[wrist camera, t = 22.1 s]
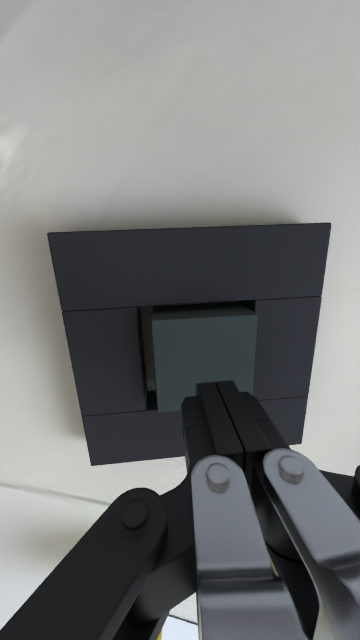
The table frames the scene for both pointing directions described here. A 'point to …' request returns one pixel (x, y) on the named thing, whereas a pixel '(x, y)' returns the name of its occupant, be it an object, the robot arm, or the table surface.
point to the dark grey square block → (201, 349)
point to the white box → (179, 630)
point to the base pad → (184, 288)
